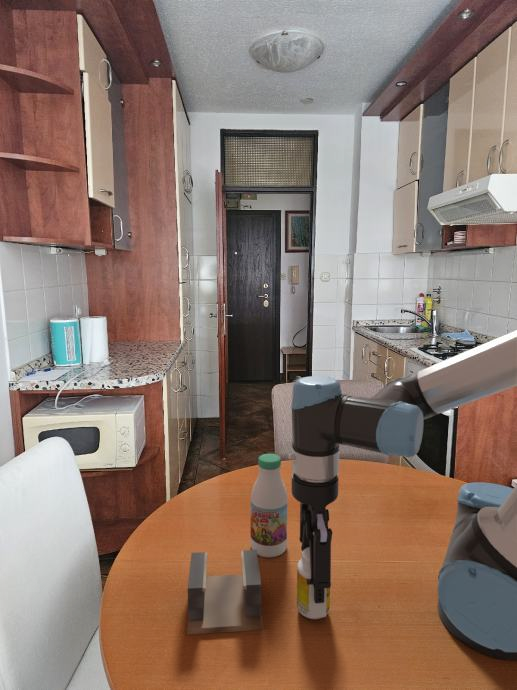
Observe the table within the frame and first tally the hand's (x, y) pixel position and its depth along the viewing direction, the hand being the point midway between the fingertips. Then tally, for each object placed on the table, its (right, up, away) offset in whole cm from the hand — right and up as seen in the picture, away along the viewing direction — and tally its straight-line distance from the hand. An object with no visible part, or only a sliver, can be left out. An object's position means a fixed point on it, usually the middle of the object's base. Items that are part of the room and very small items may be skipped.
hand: (313, 601), depth 74 cm
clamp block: (-15, -2, +2) cm, 15 cm away
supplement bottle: (0, -2, 0) cm, 2 cm away
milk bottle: (-7, +1, +18) cm, 19 cm away
